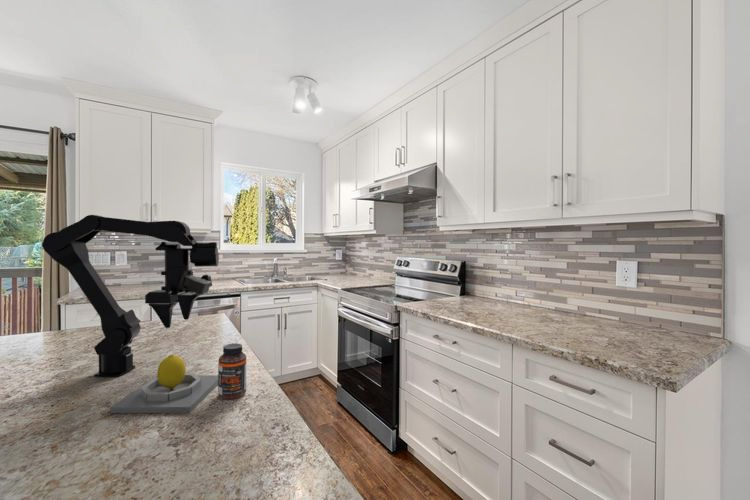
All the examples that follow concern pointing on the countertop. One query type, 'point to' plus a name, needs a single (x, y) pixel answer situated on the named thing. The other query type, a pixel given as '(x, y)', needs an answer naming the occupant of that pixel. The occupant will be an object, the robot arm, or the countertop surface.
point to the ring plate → (167, 396)
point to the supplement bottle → (232, 372)
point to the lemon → (171, 371)
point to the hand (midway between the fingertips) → (177, 323)
